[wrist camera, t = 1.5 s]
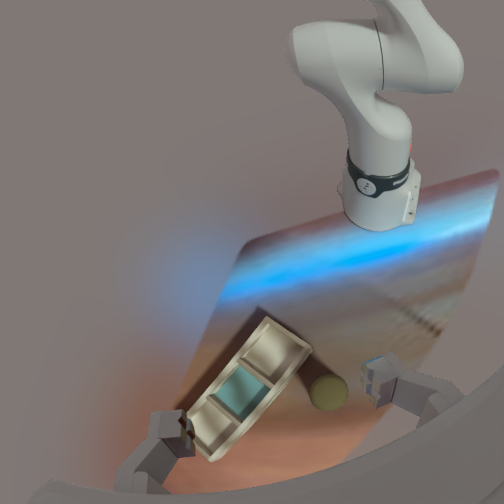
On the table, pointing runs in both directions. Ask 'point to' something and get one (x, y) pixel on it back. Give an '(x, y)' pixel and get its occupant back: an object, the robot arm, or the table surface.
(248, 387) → the divided tray
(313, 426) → the table surface
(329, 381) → the cork
